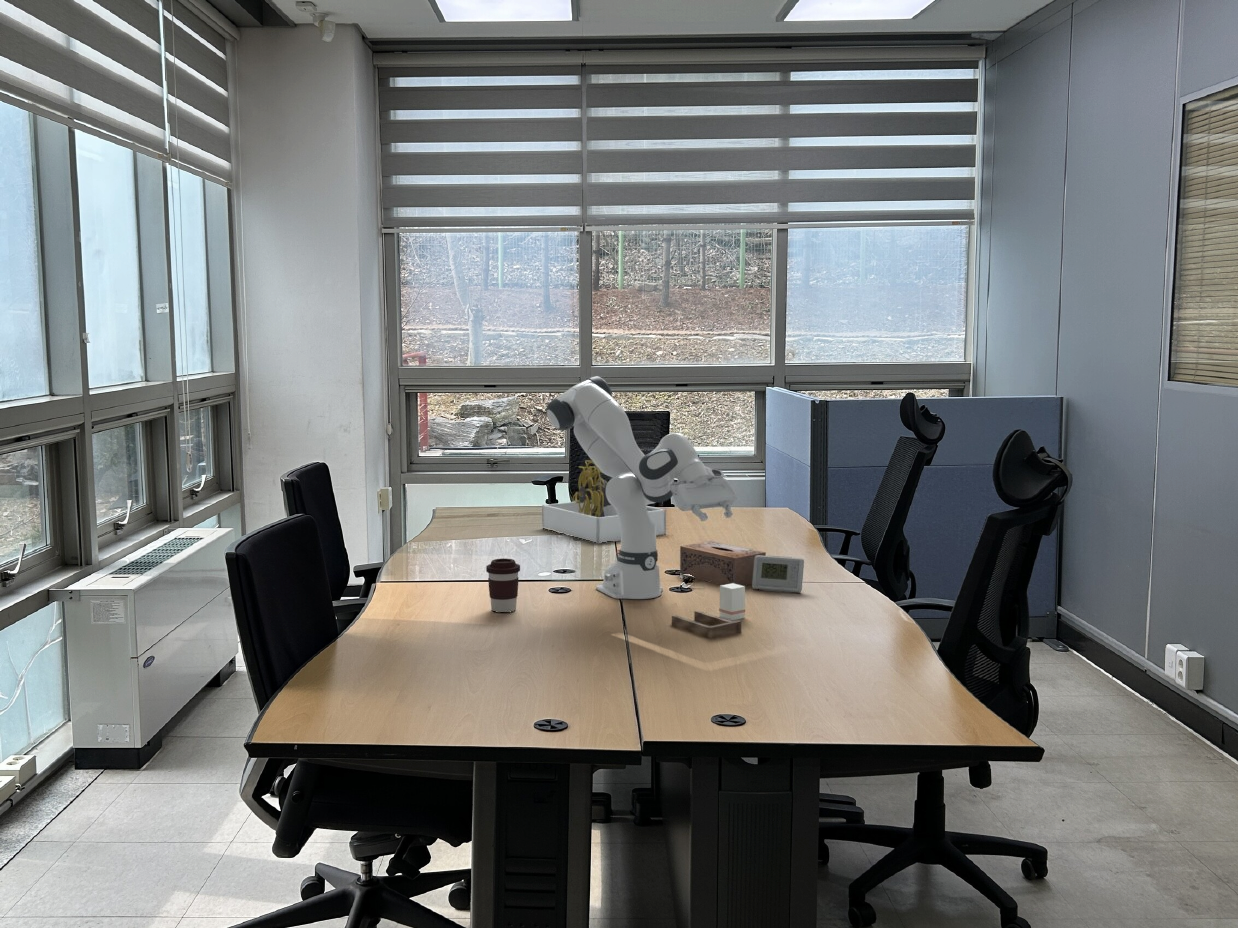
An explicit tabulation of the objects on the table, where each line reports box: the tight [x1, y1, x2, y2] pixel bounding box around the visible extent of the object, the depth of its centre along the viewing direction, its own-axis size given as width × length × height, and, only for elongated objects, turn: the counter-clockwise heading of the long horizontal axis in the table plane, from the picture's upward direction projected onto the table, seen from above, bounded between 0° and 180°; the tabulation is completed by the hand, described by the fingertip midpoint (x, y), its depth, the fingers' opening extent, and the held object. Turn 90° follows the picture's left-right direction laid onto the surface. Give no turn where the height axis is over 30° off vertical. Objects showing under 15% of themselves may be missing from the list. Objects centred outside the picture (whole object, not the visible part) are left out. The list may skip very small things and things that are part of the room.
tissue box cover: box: [679, 540, 767, 587], centre depth 363 cm, size 26×14×10 cm, turn 40°
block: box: [718, 583, 746, 621], centre depth 306 cm, size 6×5×10 cm
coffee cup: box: [485, 557, 521, 613], centre depth 319 cm, size 10×10×15 cm
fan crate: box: [541, 500, 667, 544], centre depth 447 cm, size 40×34×10 cm
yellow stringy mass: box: [571, 459, 653, 518], centre depth 446 cm, size 26×32×30 cm
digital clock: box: [751, 555, 805, 594], centre depth 345 cm, size 16×9×11 cm, turn 58°
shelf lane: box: [669, 610, 742, 640], centre depth 295 cm, size 17×11×4 cm, turn 37°
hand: (717, 518), depth 307 cm, fingers open, 8 cm apart
